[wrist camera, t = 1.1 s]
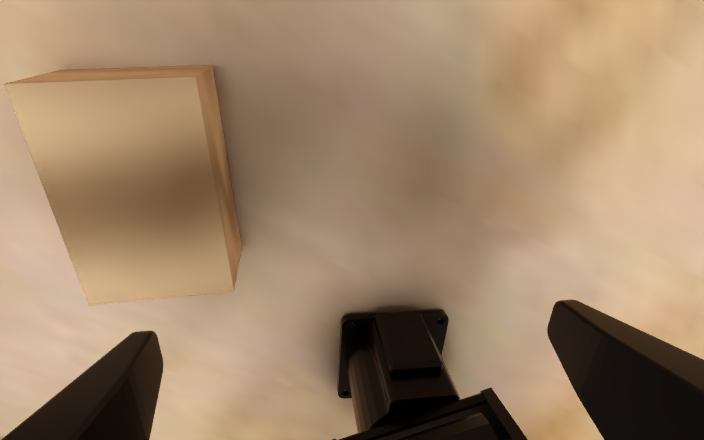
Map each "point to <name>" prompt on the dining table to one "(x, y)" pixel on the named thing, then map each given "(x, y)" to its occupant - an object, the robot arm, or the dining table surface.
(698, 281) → the dining table surface
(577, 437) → the dining table surface
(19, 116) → the light wood rectangular prism
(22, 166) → the dining table surface
